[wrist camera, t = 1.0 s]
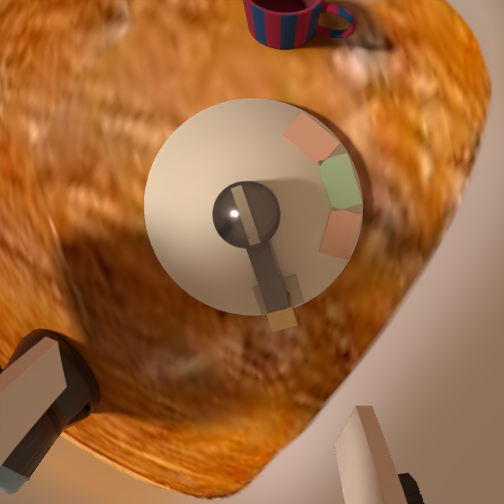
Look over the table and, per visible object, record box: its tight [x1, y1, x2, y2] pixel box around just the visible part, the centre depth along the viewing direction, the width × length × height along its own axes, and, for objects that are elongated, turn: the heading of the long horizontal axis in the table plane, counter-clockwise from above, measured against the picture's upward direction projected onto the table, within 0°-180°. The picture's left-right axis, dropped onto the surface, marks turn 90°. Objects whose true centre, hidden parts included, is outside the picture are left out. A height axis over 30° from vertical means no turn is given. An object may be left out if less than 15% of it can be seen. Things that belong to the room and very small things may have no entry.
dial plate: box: [144, 98, 363, 316], centre depth 26 cm, size 20×20×2 cm
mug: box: [243, 0, 357, 49], centre depth 19 cm, size 7×10×7 cm
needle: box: [212, 181, 298, 332], centre depth 24 cm, size 12×5×4 cm, turn 18°
